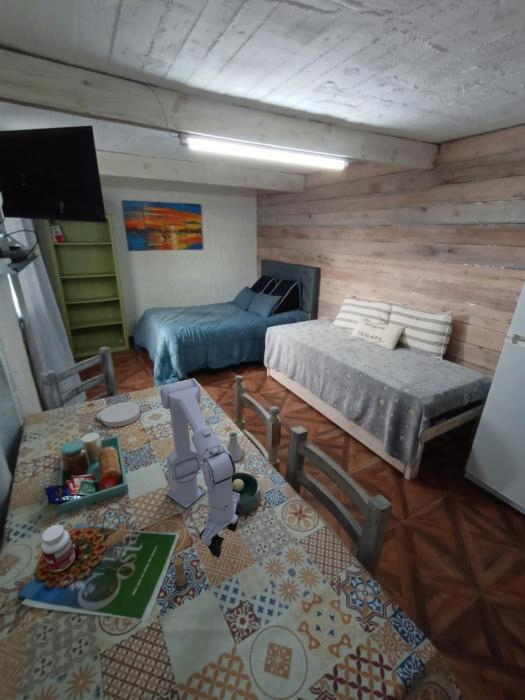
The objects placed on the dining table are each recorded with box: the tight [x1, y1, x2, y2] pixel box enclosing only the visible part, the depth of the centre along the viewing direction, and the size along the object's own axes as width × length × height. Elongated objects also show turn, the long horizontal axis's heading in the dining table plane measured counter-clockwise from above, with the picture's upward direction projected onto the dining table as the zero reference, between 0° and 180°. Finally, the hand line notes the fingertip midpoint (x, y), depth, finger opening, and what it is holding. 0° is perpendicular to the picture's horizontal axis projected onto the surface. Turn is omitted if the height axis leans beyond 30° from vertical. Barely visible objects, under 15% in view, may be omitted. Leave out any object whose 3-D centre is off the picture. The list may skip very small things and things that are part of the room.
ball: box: [232, 479, 244, 492], centre depth 106 cm, size 4×4×4 cm
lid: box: [96, 401, 141, 428], centre depth 149 cm, size 17×20×3 cm
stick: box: [173, 556, 186, 588], centre depth 78 cm, size 2×2×8 cm
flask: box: [226, 431, 244, 462], centre depth 122 cm, size 7×7×10 cm
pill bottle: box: [41, 524, 76, 573], centre depth 83 cm, size 6×6×11 cm
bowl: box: [232, 471, 260, 516], centre depth 104 cm, size 13×13×5 cm
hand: (224, 541), depth 79 cm, fingers open, 7 cm apart
